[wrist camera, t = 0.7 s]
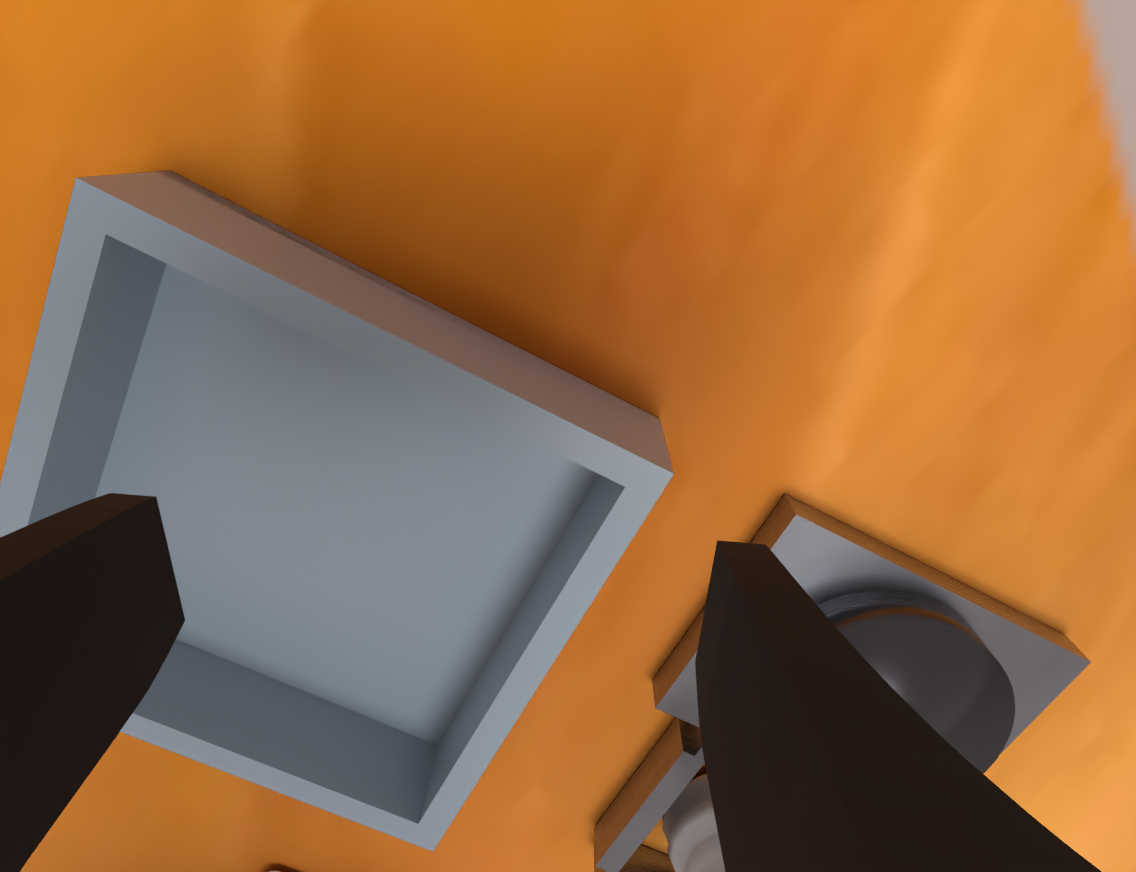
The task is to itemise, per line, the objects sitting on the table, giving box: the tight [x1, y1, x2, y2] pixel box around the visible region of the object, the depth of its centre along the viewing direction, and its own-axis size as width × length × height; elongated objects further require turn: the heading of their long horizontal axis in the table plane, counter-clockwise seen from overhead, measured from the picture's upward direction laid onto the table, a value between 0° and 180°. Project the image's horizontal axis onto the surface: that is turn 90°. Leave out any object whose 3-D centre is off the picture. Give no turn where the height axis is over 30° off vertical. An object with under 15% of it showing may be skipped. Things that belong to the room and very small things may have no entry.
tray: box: [0, 171, 674, 851], centre depth 19 cm, size 14×14×4 cm
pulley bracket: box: [594, 494, 1091, 872], centre depth 22 cm, size 15×10×4 cm
